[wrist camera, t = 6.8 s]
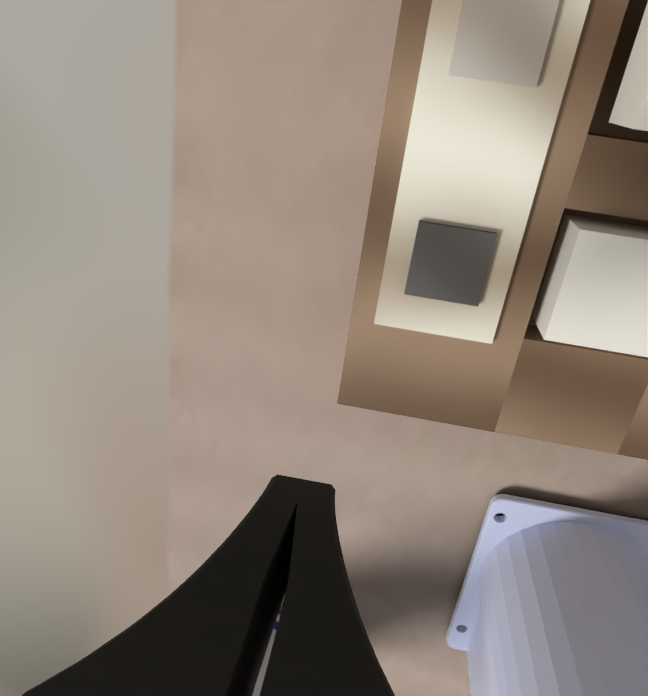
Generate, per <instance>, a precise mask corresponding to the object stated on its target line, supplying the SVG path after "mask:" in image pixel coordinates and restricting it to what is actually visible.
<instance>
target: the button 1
mask: <svg viewBox="0 0 648 696" xmlns="http://www.w3.org/2000/svg"><path fill="white" fill-rule="evenodd" d="M532 317H533V319H534V321H535V323H536V325H537V327H538V329H539V331H540V333H541V335H542V337H543V339H544V340H548V341H554V342H560V343H566V344H572V345H578V346H584V347H590V348H595V349H601V350H607V351H613V352H619V353H625V354H631V355H637V356H643V357H648V227H645V226H638V225H632V224H625V223H619V222H612V221H606V220H599V219H593V218H586V217H580V216H574V215H567V214H564V216H563V219H562V222H561V225H560V229H559V232H558V235H557V238H556V241H555V244H554V248H553V251H552V254H551V257H550V260H549V264H548V267H547V270H546V273H545V276H544V280H543V283H542V286H541V289H540V292H539V295H538V299H537V302H536V305H535V308H534V311H533V315H532Z"/></svg>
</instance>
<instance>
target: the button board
mask: <svg viewBox="0 0 648 696" xmlns="http://www.w3.org/2000/svg"><path fill="white" fill-rule="evenodd" d="M647 2H648V0H402V4H401V10H400V17H399V23H398V29H397V35H396V42H395V48H394V54H393V60H392V67H391V73H390V79H389V85H388V92H387V98H386V104H385V110H384V116H383V123H382V129H381V135H380V141H379V148H378V154H377V160H376V166H375V173H374V179H373V185H372V191H371V197H370V204H369V210H368V216H367V222H366V229H365V235H364V241H363V247H362V254H361V260H360V266H359V272H358V278H357V285H356V291H355V297H354V303H353V310H352V316H351V322H350V328H349V335H348V341H347V347H346V353H345V360H344V366H343V372H342V378H341V384H340V391H339V397H338V403H337V404H343V405H348V406H354V407H359V408H365V409H370V410H376V411H381V412H387V413H392V414H398V415H403V416H409V417H414V418H420V419H426V420H431V421H437V422H442V423H448V424H453V425H459V426H464V427H470V428H475V429H481V430H486V431H492V432H497V433H503V434H509V435H514V436H520V437H525V438H531V439H536V440H542V441H547V442H553V443H558V444H564V445H569V446H575V447H580V448H586V449H592V450H597V451H603V452H608V453H614V454H619V455H625V456H630V457H636V458H641V459H647V460H648V357H643V356H637V355H631V354H625V353H619V352H613V351H607V350H601V349H595V348H590V347H584V346H578V345H572V344H566V343H560V342H554V341H548V340H544V339H543V337H542V335H541V333H540V331H539V329H538V327H537V325H536V323H535V321H534V319H533V317H532V315H533V311H534V308H535V305H536V302H537V299H538V295H539V292H540V289H541V286H542V283H543V280H544V276H545V273H546V270H547V267H548V264H549V260H550V257H551V254H552V251H553V248H554V244H555V241H556V238H557V235H558V232H559V229H560V225H561V222H562V219H563V216H564V214H567V215H574V216H580V217H586V218H593V219H599V220H606V221H612V222H619V223H625V224H632V225H638V226H645V227H648V131H643V130H636V129H631V128H627V127H624V126H620V125H617V124H613V123H609V119H610V116H611V113H612V110H613V107H614V104H615V101H616V98H617V95H618V92H619V88H620V85H621V82H622V79H623V76H624V73H625V70H626V67H627V64H628V61H629V58H630V55H631V52H632V48H633V45H634V42H635V39H636V36H637V33H638V30H639V27H640V24H641V21H642V18H643V15H644V12H645V8H646V5H647Z"/></svg>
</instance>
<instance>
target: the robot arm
mask: <svg viewBox="0 0 648 696" xmlns="http://www.w3.org/2000/svg"><path fill="white" fill-rule="evenodd" d="M497 513H503V514H504V515H502V516H496V515H495V514H497ZM285 590H286V591H285ZM284 594H285V598H284V602H283V606H282V610H281V614H280V618H279V622H278V626H277V630H276V634H275V638H274V642H273V646H272V650H271V654H270V658H269V661H268V665H267V669H266V673H265V677H264V680H263V684H262V688H261V692H260V695H259V696H395V695H394V693H393V691H392V689H391V687H390V685H389V683H388V681H387V678H386V676H385V674H384V672H383V670H382V668H381V666H380V664H379V662H378V660H377V657H376V655H375V653H374V650H373V648H372V645H371V643H370V641H369V638H368V636H367V633H366V630H365V628H364V625H363V622H362V620H361V617H360V614H359V611H358V608H357V605H356V602H355V599H354V596H353V593H352V589H351V586H350V583H349V579H348V576H347V572H346V568H345V564H344V560H343V555H342V551H341V546H340V541H339V536H338V530H337V523H336V515H335V489H334V488H333V486H332V485H330V484H325V483H320V482H314V481H309V480H303V479H298V478H293V477H287V476H282V475H276V476H274V477H273V478H272V479H271V481H270V482H269V484H268V486H267V487H266V489H265V490H264V492H263V493H262V495H261V496H260V498H259V499H258V501H257V502H256V503H255V505H254V506H253V507H252V509H251V510H250V511H249V513H248V514H247V515H246V516H245V518H244V519H243V520H242V521H241V522H240V524H239V525H238V526H237V527H236V529H235V530H234V531H233V532H232V533H231V535H230V536H229V537H228V538H227V539H226V540H225V541H224V542H223V543H222V545H221V546H220V547H219V548H218V549H217V550H216V551H215V552H214V553H213V554H212V555H211V556H210V557H209V558H208V559H207V560H206V561H205V563H204V564H203V565H202V566H201V567H200V568H198V569H197V570H196V571H195V572H194V573H193V574H192V575H191V576H190V577H189V578H188V579H187V580H186V581H185V582H184V583H183V584H181V585H180V586H179V587H178V588H177V589H176V590H175V591H174V592H172V593H171V594H170V595H169V596H168V597H167V598H165V599H164V600H163V601H162V602H161V603H159V604H158V605H157V606H156V607H154V608H153V609H152V610H151V611H150V612H148V613H147V614H146V615H145V616H143V617H142V618H141V619H139V620H138V621H137V622H136V623H134V624H133V625H131V626H130V627H129V628H127V629H126V630H124V631H123V632H121V633H120V634H119V635H117V636H116V637H114V638H113V639H111V640H110V641H108V642H107V643H105V644H104V645H103V646H101V647H100V648H98V649H97V650H95V651H94V652H92V653H91V654H89V655H88V656H86V657H85V658H83V659H82V660H80V661H78V662H77V663H75V664H74V665H72V666H70V667H68V668H67V669H65V670H64V671H61V672H60V673H58V674H56V675H55V676H53V677H51V678H49V679H48V680H46V681H44V682H43V683H41V684H40V685H37V686H36V687H34V688H32V689H30V690H29V691H27V692H25V693H24V694H23V695H22V696H252V695H253V691H254V688H255V684H256V681H257V678H258V675H259V672H260V669H261V666H262V663H263V659H264V656H265V653H266V650H267V647H268V644H269V641H270V638H271V634H272V631H273V628H274V625H275V622H276V619H277V616H278V613H279V609H280V606H281V603H282V600H283V597H284ZM446 641H447V644H448V645H449V646H450V647H451V648H454V649H459V650H463V651H467V659H468V669H469V680H470V691H471V696H648V521H646V520H640V519H635V518H630V517H624V516H619V515H614V514H608V513H603V512H598V511H592V510H587V509H582V508H576V507H571V506H566V505H560V504H555V503H550V502H544V501H539V500H534V499H528V498H523V497H518V496H512V495H507V494H499V495H496V496H494V497H493V498H492V499H491V501H490V503H489V506H488V509H487V512H486V515H485V518H484V522H483V525H482V528H481V531H480V534H479V537H478V540H477V543H476V546H475V549H474V552H473V555H472V558H471V561H470V564H469V567H468V570H467V573H466V576H465V579H464V582H463V585H462V588H461V591H460V594H459V597H458V600H457V603H456V606H455V609H454V612H453V615H452V619H451V622H450V625H449V628H448V631H447V634H446Z"/></svg>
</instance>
